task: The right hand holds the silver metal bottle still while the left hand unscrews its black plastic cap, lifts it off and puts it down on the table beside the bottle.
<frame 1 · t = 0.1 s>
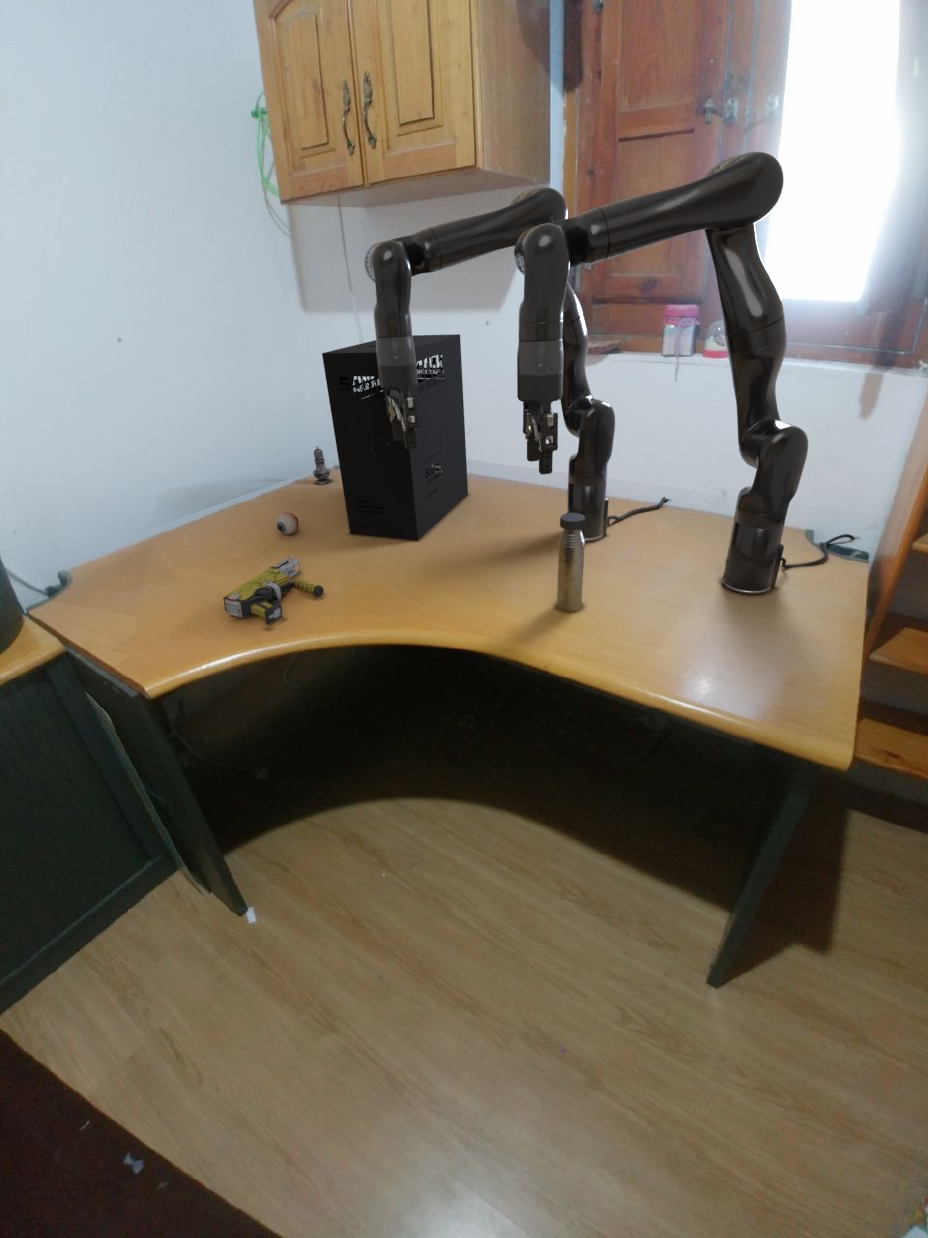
left hand: (404, 444, 126), 29 cm above the table, tool pointing down, fingers open, 8 cm apart
right hand: (539, 466, 107), 29 cm above the table, tool pointing down, fingers open, 8 cm apart
cap: (572, 518, 113), point 19 cm above the table, screwed on, not yet turned
cardboard box: (413, 513, 175), on the table
toy gun: (287, 598, 132), on the table
eyeball: (289, 534, 165), on the table
bottle: (569, 606, 123), on the table
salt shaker: (323, 482, 206), on the table
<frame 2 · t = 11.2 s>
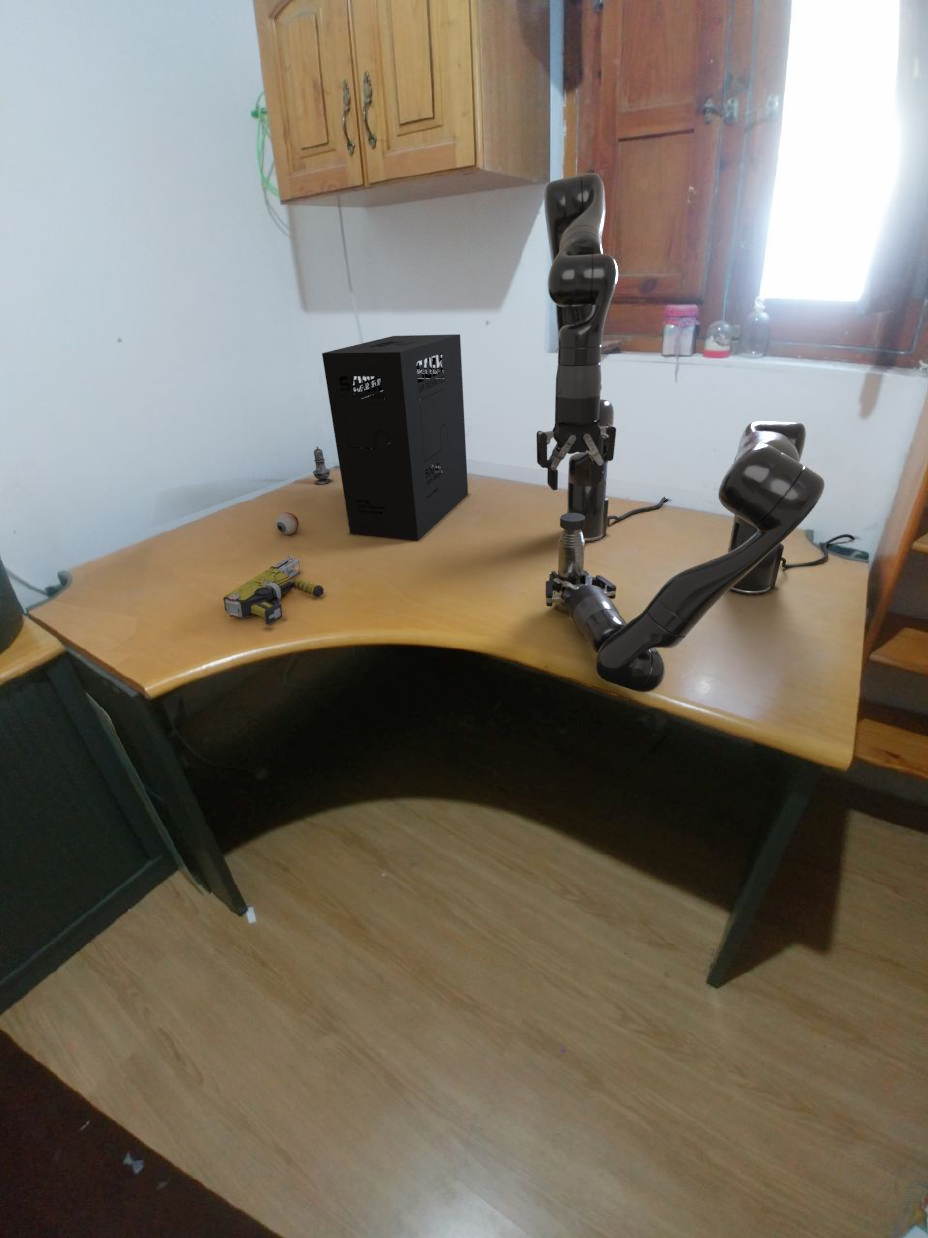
left hand: (574, 486, 110), 25 cm above the table, tool pointing down, fingers open, 7 cm apart
right hand: (566, 574, 122), 6 cm above the table, tool horizontal, fingers closed on bottle, 5 cm apart
bottle: (569, 606, 123), on the table, touching right hand
everything else where it was.
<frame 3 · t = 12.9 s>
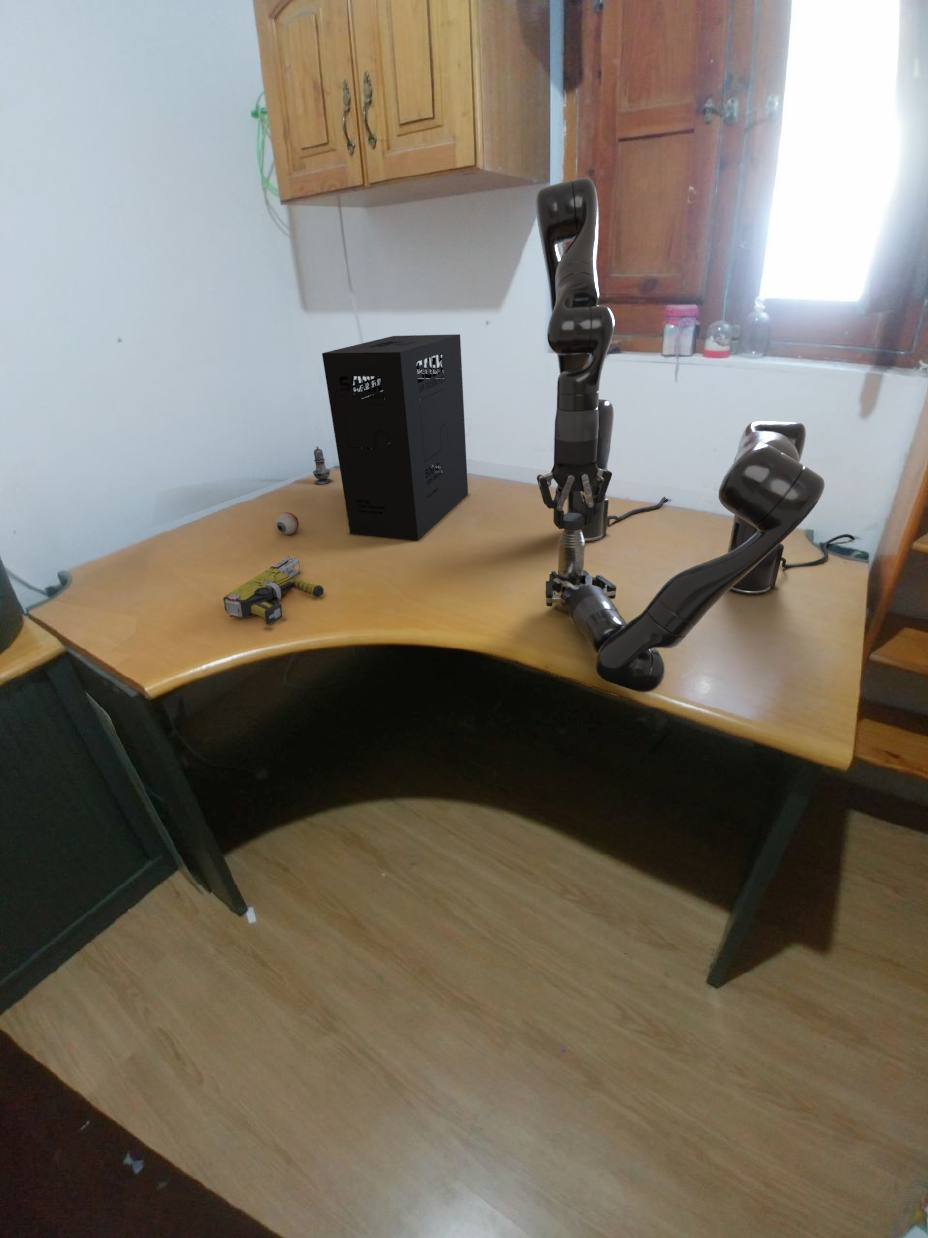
left hand: (572, 525, 114), 17 cm above the table, tool pointing down, fingers closed on cap, 4 cm apart
right hand: (566, 574, 122), 6 cm above the table, tool horizontal, fingers closed on bottle, 5 cm apart
cap: (572, 518, 113), point 19 cm above the table, screwed on, not yet turned, touching left hand
bottle: (569, 606, 123), on the table, touching right hand
everything else where it was.
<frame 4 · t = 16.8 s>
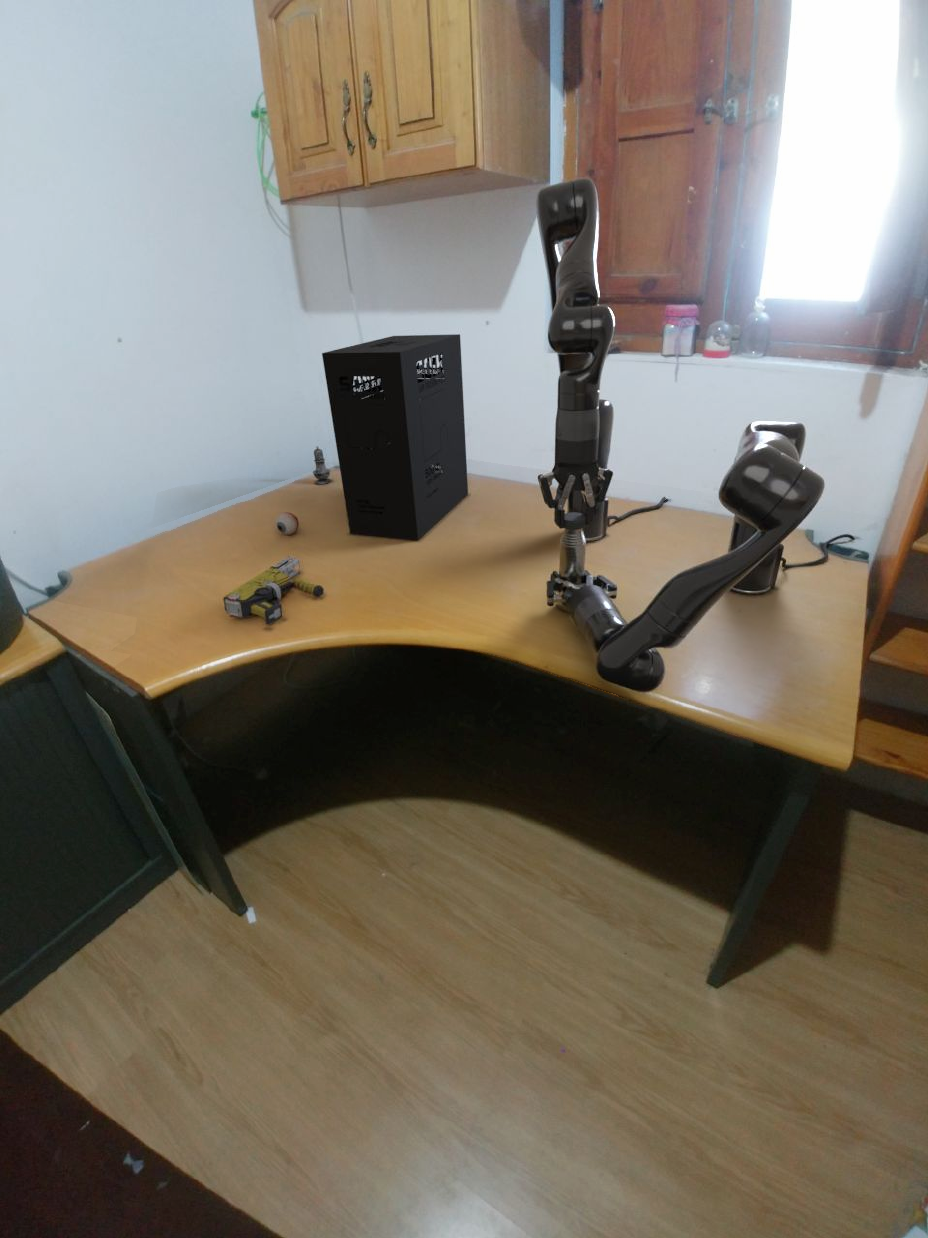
left hand: (573, 525, 114), 17 cm above the table, tool pointing down, fingers closed on cap, 4 cm apart
right hand: (567, 573, 122), 6 cm above the table, tool horizontal, fingers closed on bottle, 5 cm apart
cap: (573, 518, 113), point 19 cm above the table, turned 101° so far, risen 0.1 cm, still on its thread, touching left hand
bottle: (570, 605, 123), on the table, touching right hand
everything else where it was.
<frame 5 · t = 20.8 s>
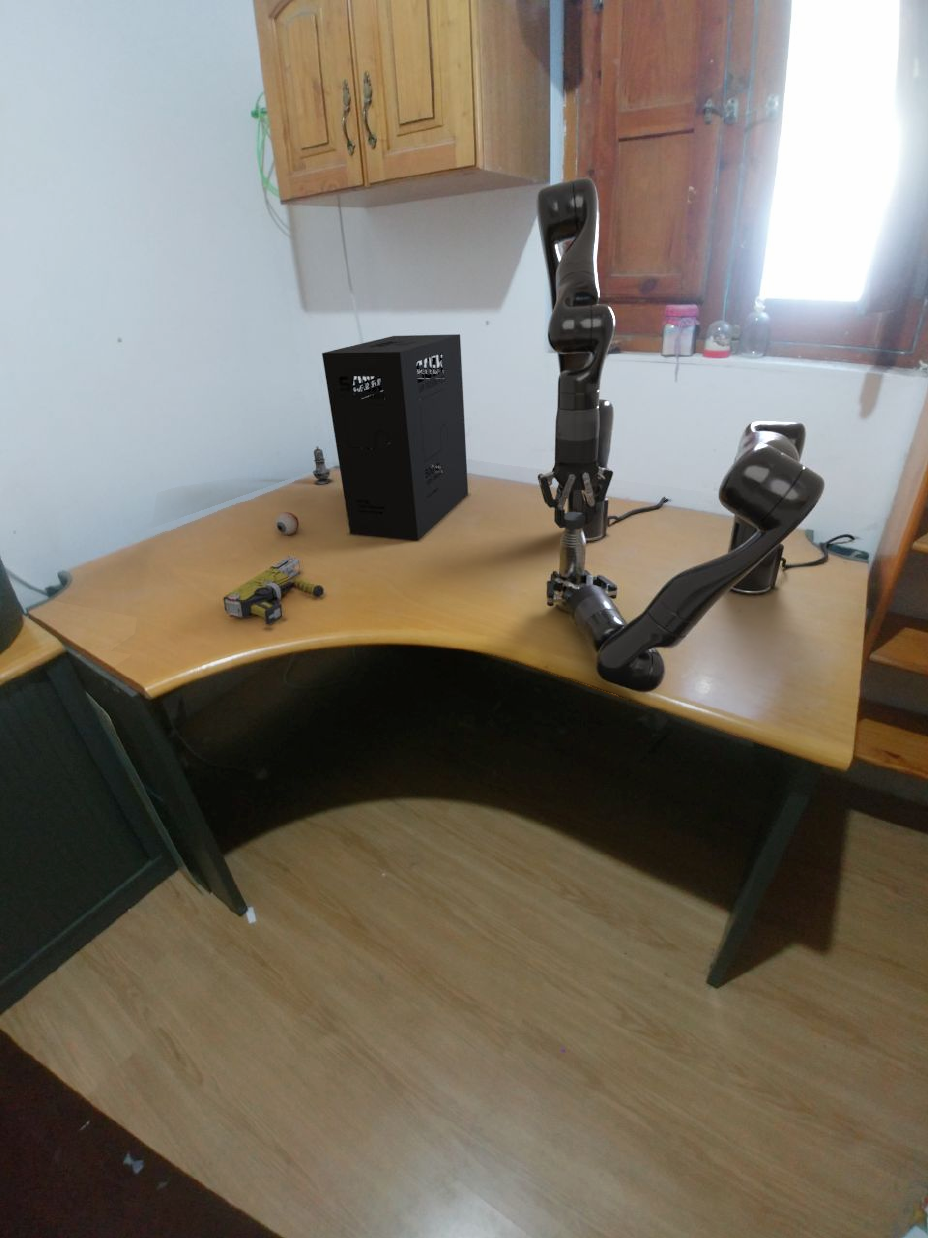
left hand: (573, 524, 114), 18 cm above the table, tool pointing down, fingers closed on cap, 4 cm apart
right hand: (567, 573, 122), 6 cm above the table, tool horizontal, fingers closed on bottle, 5 cm apart
cap: (573, 517, 113), point 19 cm above the table, turned 202° so far, risen 0.2 cm, still on its thread, touching left hand
bottle: (570, 605, 123), on the table, touching right hand
everything else where it was.
when the left hand's fingers open (1 cm above the table, at t = 35.8 s): cap drops 1 cm, point 1 cm above the table.
when the right hand's fingers open (6 cm above the table, at t = 37.0 s): bottle stays where it is, on the table.
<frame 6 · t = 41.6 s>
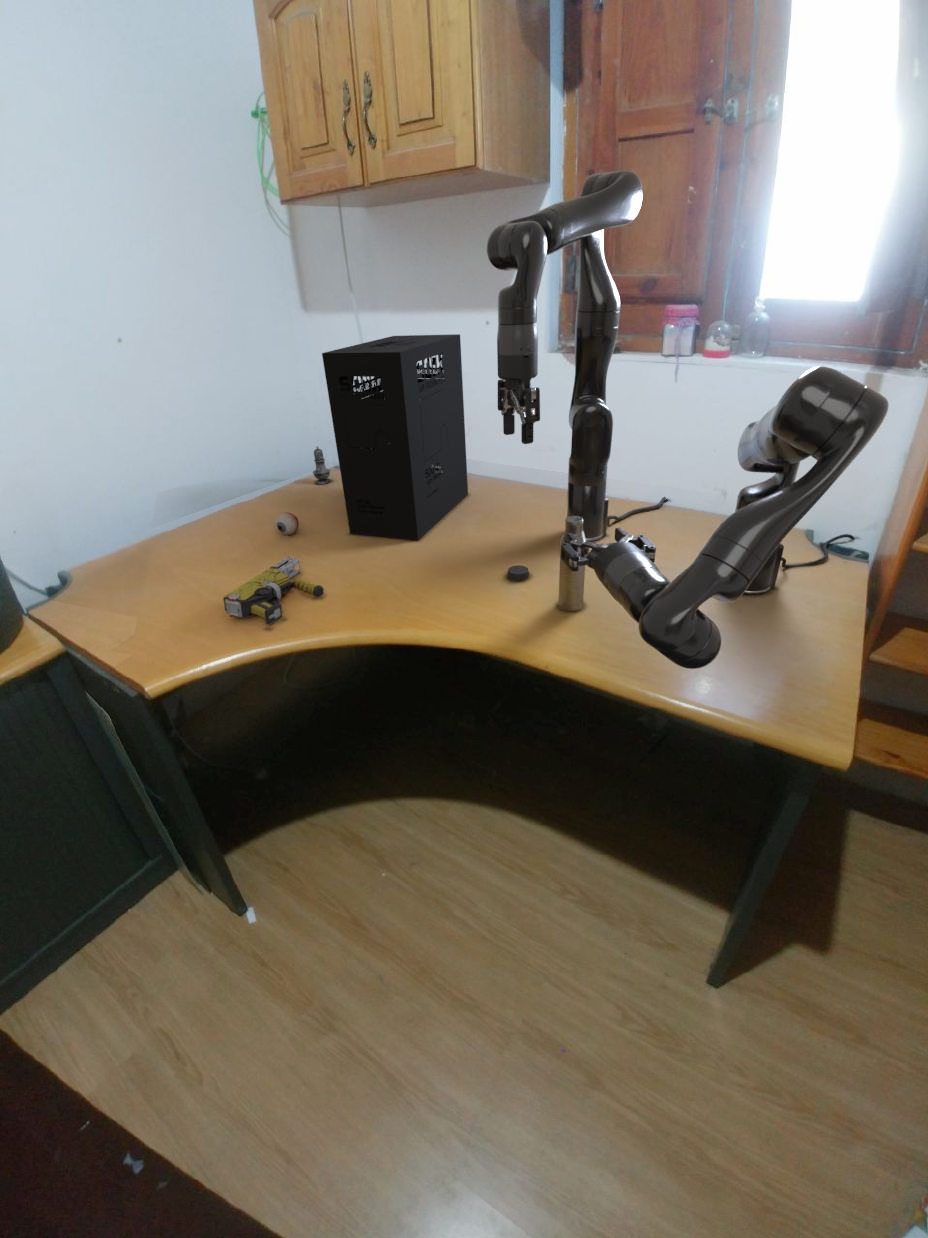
left hand: (518, 438, 120), 31 cm above the table, tool pointing down, fingers open, 8 cm apart
right hand: (592, 535, 103), 20 cm above the table, tool horizontal, fingers open, 8 cm apart
cap: (518, 570, 135), point 1 cm above the table, off its thread
bottle: (570, 605, 123), on the table
everything else where it was.
at the end: cap came off its thread; cap point 1.5 cm above the table; the left hand is holding nothing; the right hand is holding nothing; bottle tilted 0°; bottle moved 0.3 cm from its start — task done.
